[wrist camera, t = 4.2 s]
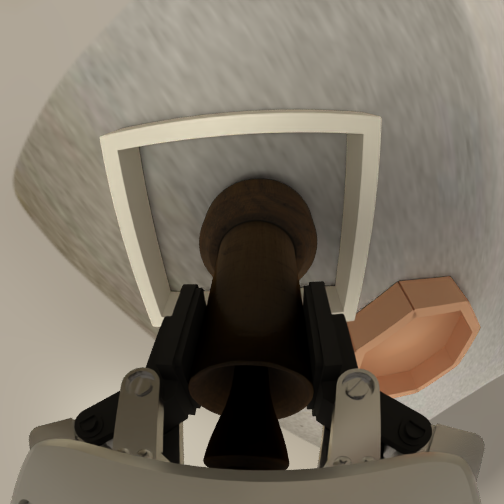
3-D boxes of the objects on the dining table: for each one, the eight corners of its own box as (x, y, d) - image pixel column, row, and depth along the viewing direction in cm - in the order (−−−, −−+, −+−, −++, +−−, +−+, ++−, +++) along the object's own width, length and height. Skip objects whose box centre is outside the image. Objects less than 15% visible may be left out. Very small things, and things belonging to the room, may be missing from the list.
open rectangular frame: (362, 112, 15) (381, 117, 12) (345, 294, 22) (354, 320, 20) (121, 128, 16) (99, 136, 13) (162, 300, 23) (152, 326, 20)
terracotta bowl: (479, 272, 21) (497, 295, 18) (434, 363, 28) (444, 385, 25) (353, 284, 22) (364, 315, 19) (330, 381, 29) (335, 407, 26)
